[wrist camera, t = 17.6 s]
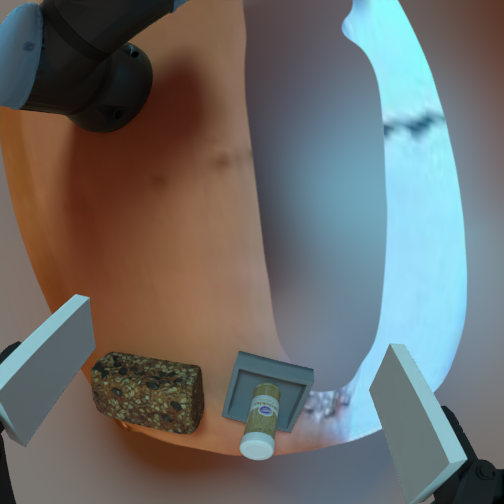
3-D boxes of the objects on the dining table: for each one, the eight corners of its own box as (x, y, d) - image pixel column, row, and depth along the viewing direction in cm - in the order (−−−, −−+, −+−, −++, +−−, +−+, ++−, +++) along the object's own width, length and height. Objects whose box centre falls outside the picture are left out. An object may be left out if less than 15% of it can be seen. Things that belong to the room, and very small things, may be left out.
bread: (119, 389, 54) (95, 419, 44) (109, 345, 51) (79, 373, 42) (207, 408, 51) (192, 446, 42) (204, 362, 49) (185, 400, 39)
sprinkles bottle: (281, 381, 46) (273, 442, 33) (280, 402, 47) (273, 462, 35) (252, 380, 47) (237, 440, 34) (253, 401, 48) (240, 460, 35)
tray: (225, 403, 50) (221, 416, 47) (239, 350, 47) (235, 363, 44) (291, 419, 49) (290, 432, 46) (313, 369, 46) (313, 382, 43)
